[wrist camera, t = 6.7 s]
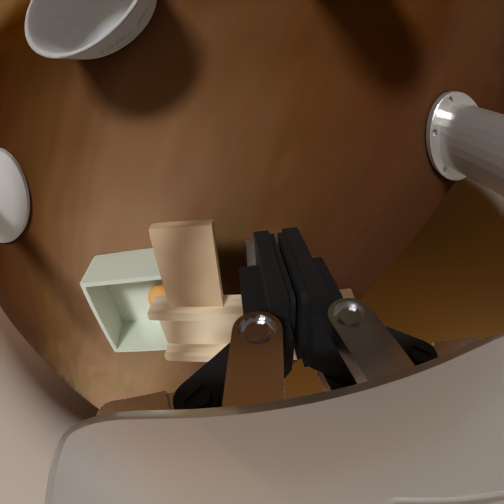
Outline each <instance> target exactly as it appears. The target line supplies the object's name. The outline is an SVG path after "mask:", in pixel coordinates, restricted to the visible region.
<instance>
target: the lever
mask: <svg viewBox="0 0 504 504" xmlns="http://www.w3.org/2000/svg"><path fill="white" fill-rule="evenodd" d="M148 230H149V234H150V238H151V242H152V246H153V250H154V254H155V258H156V261H157V265H158V269H159V272H160V276H161V279H162V283H163V286H164V290H165V293H166V296H154V298H153V300H152V303H151V305H150V308H149V311H148V313H147V315H148V317H149V320H159V321H160V324H161V327H162V329H163V332H164V335H165V337H166V340H167V342H168V345H167V349H166V352H165V358H166V360H170V361H192V362H208V361H209V360H211V359H212V358H213V357H214V356H215V355H216V354H217V353H218V352H220V351H221V350H222V349H223V348H224V347H225V346H226V345H227V344H229V343H230V340H231V333H232V327H233V325H234V323H235V321H236V320H237V319H238V318H239V317H241V316H242V315H243V308H242V299H241V295H223V289H222V282H221V275H220V267H219V260H218V253H217V245H216V237H215V229H214V221H213V219H212V220H195V221H179V222H165V223H152V225H151V226H150V228H149V229H148ZM340 292H341V294H342V296H343V298H354V296H353V293H352V291H351V289H340ZM293 360H298V359H297V357H296V354H295V350H294V357H293Z"/></svg>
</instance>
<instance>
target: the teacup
mask: <svg viewBox="0 0 504 504" xmlns="http://www.w3.org/2000/svg"><path fill="white" fill-rule="evenodd" d="M156 2H157V0H31V2H30V5H29V7H28V10H27V13H26V19H25V35H26V39H27V41H28V44H29V45H30V47H31V48H32V49H33V50H34V51H35V52H36V53H38V54H39V55H42V56H44V57H47V58H54V59H62V58H67V59H80V60H86V59H96V58H100V57H104V56H107V55H109V54H112V53H114V52H116V51H118V50H120V49H121V48H123V47H125V46H126V45H128V44H129V43H130V42H131V41H133V40H134V39H135V38H136V37H137V36H138V35H139V34H140V33H141V32H142V31H143V29H144V28H145V27H146V25H147V24H148V22H149V21H150V19H151V17H152V15H153V13H154V10H155V7H156Z"/></svg>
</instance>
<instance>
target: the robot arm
mask: <svg viewBox="0 0 504 504" xmlns="http://www.w3.org/2000/svg"><path fill="white" fill-rule="evenodd" d="M426 145H427V151H428V155H429V158H430V160H431V163H432V165H433V166H434V168H435V169H436V171H437V172H438V173H439V174H440V175H442V176H444V177H445V178H447V179H450V180H461V179H463V178H465V177H469V178H471V179H473V180H475V181H476V182H478V183H480V184H482V185H484V186H485V187H487V188H489V189H491V190H493V191H494V192H496V193H497V194H499V195H501V196H503V197H504V115H503V114H500V113H497V112H493V111H490V110H486V109H483V108H479V107H478V106H477V105H476V103H475V102H474V101H473V99H471V98H470V97H469V96H468V95H466V94H464V93H462V92H457V91H449V92H445V93H444V94H442V95H441V96H440V97H439V98H438V99H437V100H436V101H435V103H434V104H433V106H432V108H431V111H430V113H429V116H428V120H427V127H426ZM277 239H278V244H277V241H276V238H275V236H274V234H269V232H268V231H259V232H254V245H255V257H256V265H254V266H245V267H238V271H239V281H240V290H241V299H242V308H243V315H242V316H241V317H239V318H238V319H237V320H236V321H235V323H234V325H233V327H232V333H231V340H230V343H229V344H227V345H226V346H225V347H224V348H223V349H222V350H221V351H220V352H218V353H217V354H216V355H215V356H214V357H213V358H212V359H211V360H209V361H208V362H207V363H206V364H205V365H204V366H203V367H201V368H200V369H199V370H198V371H197V372H196V373H194V374H193V375H192V376H191V377H190V378H189V379H187V380H186V381H185V382H184V383H183V384H182V385H180V387H179V388H178V389H177V390H176V391H175V392H171V393H167V392H166V391H161V392H157V393H152V394H147V395H142V396H137V397H132V398H126V399H120V400H114V401H110V402H108V403H105V404H104V405H103V406H102V407H101V408H100V409H99V411H98V413H97V416H95V417H92V418H89V419H86V420H84V421H81V422H79V423H77V424H75V425H73V426H71V427H70V428H69V429H68V430H66V431H65V433H64V434H63V435H62V437H61V438H60V440H59V442H58V444H57V447H56V449H55V452H54V455H53V459H52V462H51V466H50V471H49V476H48V482H47V489H46V497H45V504H504V333H503V334H497V335H494V336H490V337H487V338H484V339H478V338H473V337H472V338H465V339H456V340H449V341H440V342H433V344H432V345H430V344H428V343H427V342H425V341H422V340H420V339H417V338H415V337H412V336H410V335H407V334H404V333H402V332H399V331H397V330H394V329H392V328H389V327H387V326H385V325H384V324H383V323H382V322H381V320H380V319H379V318H378V317H377V315H376V314H375V313H374V311H373V310H372V309H371V308H370V307H369V306H368V305H367V304H366V303H365V302H363V301H361V300H358V299H355V298H343V296H342V294H341V292H340V290H339V288H338V286H337V285H336V283H335V281H334V279H333V277H332V275H331V273H330V271H329V269H328V268H327V266H326V264H325V262H324V260H323V259H322V258H321V257H318V258H312V256H311V254H310V252H309V250H308V248H307V246H306V244H305V242H304V240H303V238H302V236H301V234H300V232H299V230H298V228H297V227H295V228H286V229H282V233H278V234H277ZM294 350H295V354H296V357H297V359H298V360H299V359H302V360H303V364H304V367H307V366H310V367H311V368H313V369H315V370H317V371H318V376H319V379H320V381H321V383H322V385H323V387H324V389H325V391H326V392H322V393H317V394H312V395H307V396H301V397H296V398H290V399H284V378H285V377H286V376H287V375H288V374H289V373H290V371H291V370H292V361H293V357H294Z"/></svg>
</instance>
